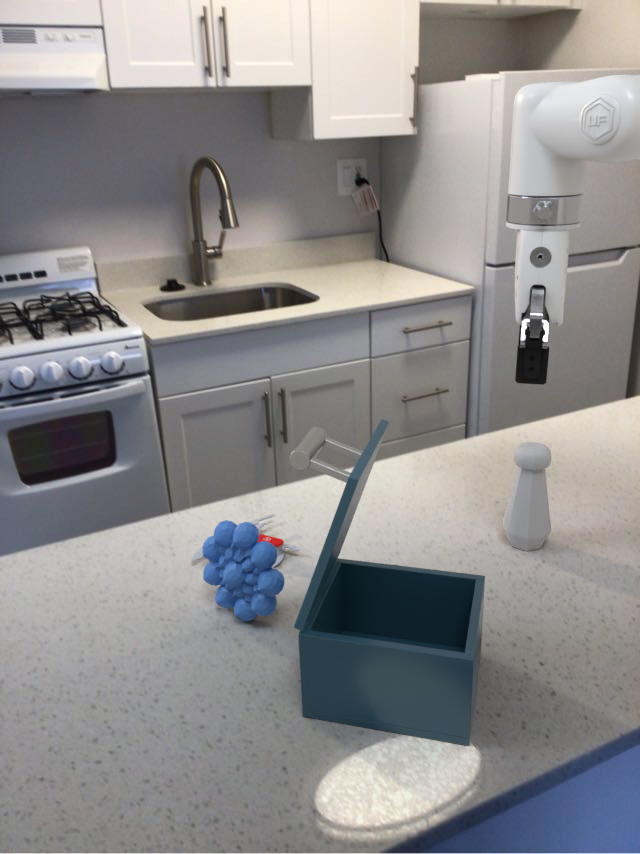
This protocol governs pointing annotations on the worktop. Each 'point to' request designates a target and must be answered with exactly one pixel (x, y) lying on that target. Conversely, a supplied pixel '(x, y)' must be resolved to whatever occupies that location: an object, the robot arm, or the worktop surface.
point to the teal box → (394, 650)
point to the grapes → (242, 570)
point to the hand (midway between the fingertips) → (530, 369)
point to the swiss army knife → (275, 541)
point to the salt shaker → (529, 498)
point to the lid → (347, 505)
